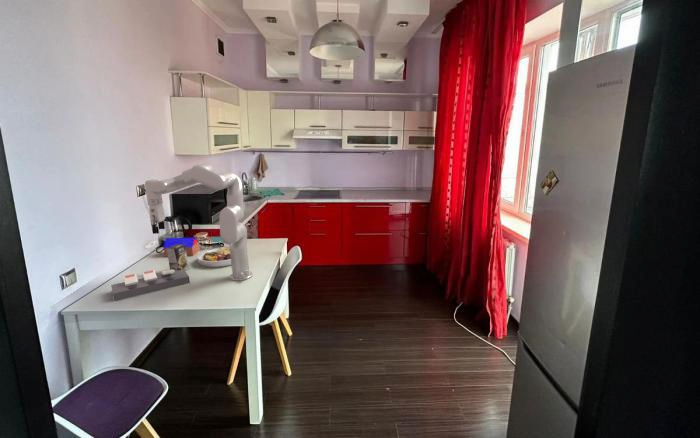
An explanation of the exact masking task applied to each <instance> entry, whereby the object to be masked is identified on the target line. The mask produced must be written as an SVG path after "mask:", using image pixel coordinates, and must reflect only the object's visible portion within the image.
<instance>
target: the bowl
mask: <svg viewBox="0 0 700 438" xmlns="http://www.w3.org/2000/svg"><path fill="white" fill-rule="evenodd" d="M214 248H215V249H212V248H210V249H207V250H204V251H203V252H201V253H199V254H198V255H197V261H198V263H199V264H200V265H202V266H203V267H208V268H223V267H228V266H231V257H230V246H220V247H214Z"/></svg>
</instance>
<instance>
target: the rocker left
mask: <svg viewBox="0 0 700 438" xmlns="http://www.w3.org/2000/svg"><path fill="white" fill-rule="evenodd" d="M122 277H123V281H124V282H125V286H130V285H134V284H139V283H138V279H139V278H138V277H137V273H134V274H128V275H124V276H122Z"/></svg>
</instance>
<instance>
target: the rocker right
mask: <svg viewBox="0 0 700 438" xmlns="http://www.w3.org/2000/svg"><path fill="white" fill-rule="evenodd" d="M174 272H175V270H173V269H172V270H170V269H167V270H163V271H160V274H162V275H163V276H164V275H168V274H173V273H174Z"/></svg>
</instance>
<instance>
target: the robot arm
mask: <svg viewBox="0 0 700 438" xmlns="http://www.w3.org/2000/svg"><path fill="white" fill-rule="evenodd" d="M198 183H199V184H201V185H204V187H208V188H210V189H213V190H215V191H222V190H224V189H227V193H226V206H225V207H224V208H223V209H221V211H220V213H219V217H218V219H219V236H221V239H222V241H223V242H224V244H226V245H229V247H230V257H231V265H230V267H231V272H232V273H231V274H230V275H229V279H230V280H232V281H245V280H248V279H250V278H252V277H253V272H252V271H250V264H249V262H250V261H249V252H248V230H247V226H246V225H245V224H244V223H242V222H239V221H241V220H242V219H243V218H244V215H245V207H244V194H243V193H244V191H243V189H244V188H243V183H242V179H241V178H240V177H239V176H238V175H237V174H236V173H233V172H231V171H223V172H222V171H221V172H220V173H216V172H215V169H214V167H213V165H211V164H209V163H200V164H196V165H194V166H192V167H191V168H188V169H186V170H183V171H182V172H181V174H179V175H176V176H173V177H171V178H165V179H161V180H159V179H148V180H146V181H144V187H145V194H146V200H147V206H149V207H148V209H149V210H148V211H149V218H150V219H149V220H150V226H151V230H152V234H153V235H154V234H155V235H156V234H160V231H159V230H165V229H166V227H165V226H166V225H165V220H166V215H165V210H164V205H163V203H164V202H163V195H166V194H169V193H173V192H176V191H179V190H181V189H184V188H187V187H191V186H193V185H196V184H198Z"/></svg>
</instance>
